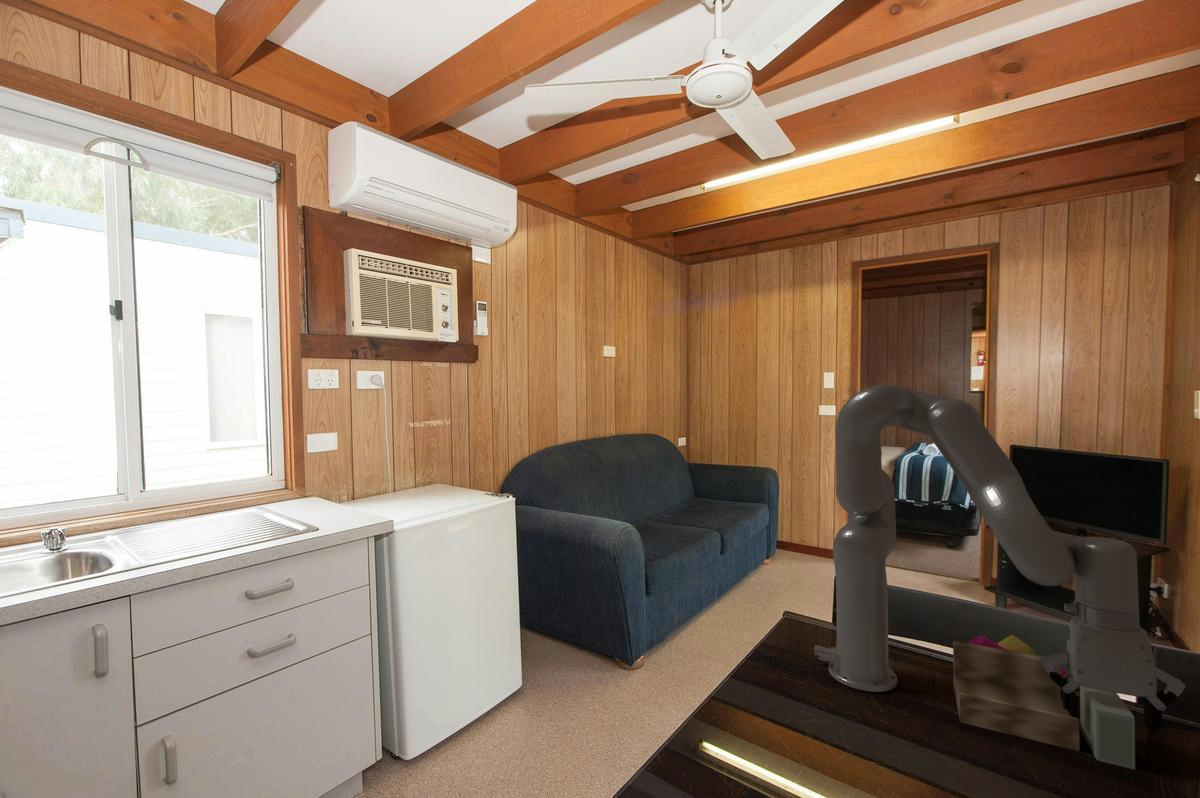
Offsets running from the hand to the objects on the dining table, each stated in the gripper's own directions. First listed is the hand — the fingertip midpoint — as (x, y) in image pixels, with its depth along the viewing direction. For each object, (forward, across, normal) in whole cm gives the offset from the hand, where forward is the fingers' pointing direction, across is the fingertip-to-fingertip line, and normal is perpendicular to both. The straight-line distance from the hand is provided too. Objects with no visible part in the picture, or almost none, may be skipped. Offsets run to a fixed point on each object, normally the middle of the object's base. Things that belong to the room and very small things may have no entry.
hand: (1110, 722), depth 87 cm
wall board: (+4, -13, +4) cm, 14 cm away
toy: (+4, -10, +18) cm, 21 cm away
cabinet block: (+4, -1, 0) cm, 5 cm away
